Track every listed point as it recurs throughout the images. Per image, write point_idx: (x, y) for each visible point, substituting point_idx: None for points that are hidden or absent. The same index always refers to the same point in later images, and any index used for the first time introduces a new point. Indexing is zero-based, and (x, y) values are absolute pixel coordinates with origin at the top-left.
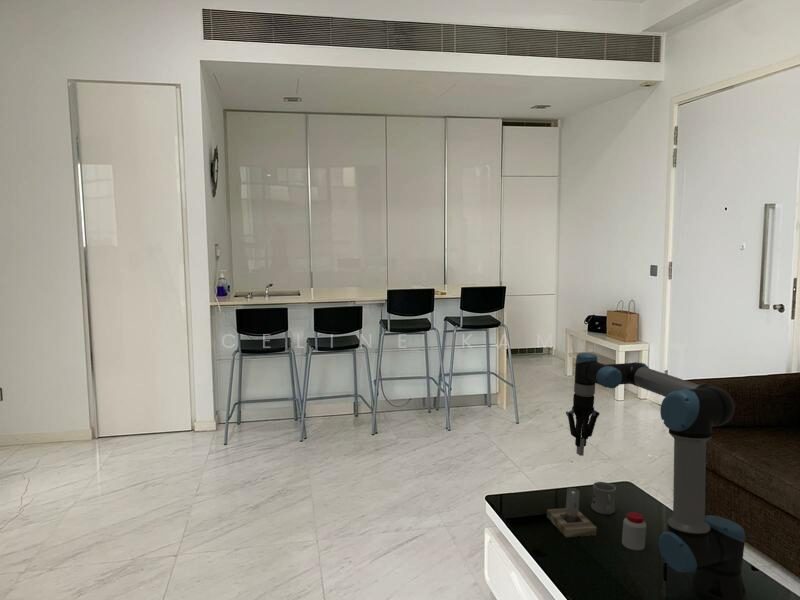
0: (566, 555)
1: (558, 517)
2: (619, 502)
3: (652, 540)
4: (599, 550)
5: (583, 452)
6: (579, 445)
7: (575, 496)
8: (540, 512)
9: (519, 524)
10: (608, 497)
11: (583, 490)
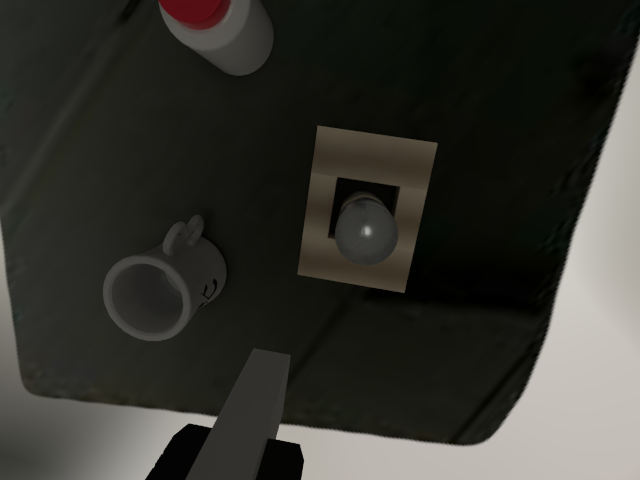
0: (512, 33)
1: (404, 231)
2: None
3: (156, 43)
4: (375, 33)
5: (245, 367)
6: (267, 450)
7: (374, 203)
8: (401, 313)
9: (523, 266)
10: (176, 234)
11: (178, 389)
